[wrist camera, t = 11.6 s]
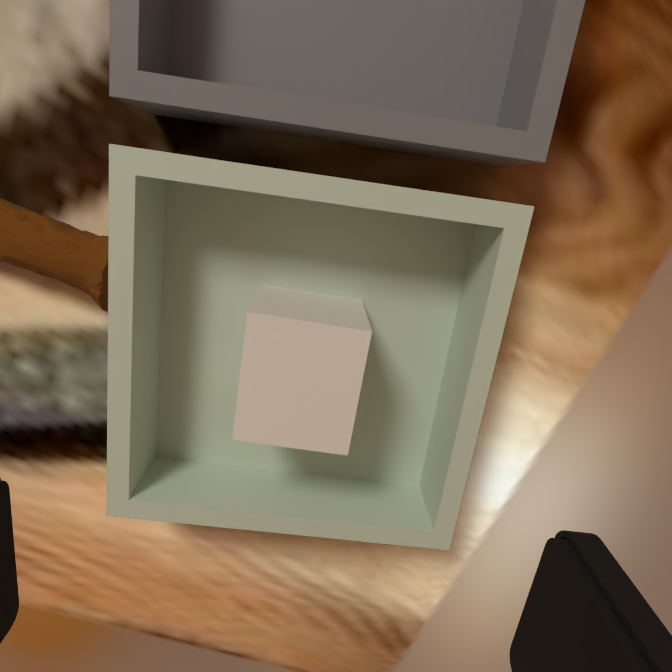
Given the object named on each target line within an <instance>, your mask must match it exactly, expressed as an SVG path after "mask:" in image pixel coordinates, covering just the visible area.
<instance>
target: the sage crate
mask: <svg viewBox="0 0 672 672" xmlns="http://www.w3.org/2000/svg"><path fill="white" fill-rule="evenodd" d="M533 210H534V206H529V205H522V204H515V203H508V202H502V201H495V200H488V199H481V198H474V197H468V196H461V195H454V194H447V193H440V192H433V191H427V190H420V189H413V188H406V187H399V186H393V185H386V184H379V183H372V182H365V181H359V180H352V179H345V178H338V177H331V176H325V175H318V174H311V173H304V172H297V171H291V170H284V169H277V168H270V167H263V166H257V165H250V164H243V163H236V162H229V161H223V160H216V159H209V158H202V157H195V156H189V155H182V154H175V153H168V152H161V151H154V150H148V149H141V148H134V147H127V146H120V145H114V144H109V245H108V402H107V516H113V517H123V518H133V519H143V520H153V521H163V522H173V523H183V524H192V525H202V526H212V527H222V528H232V529H242V530H252V531H262V532H272V533H281V534H291V535H301V536H311V537H321V538H331V539H341V540H351V541H360V542H370V543H380V544H390V545H400V546H410V547H420V548H430V549H440V550H450V546H451V542H452V538H453V534H454V530H455V526H456V522H457V518H458V514H459V510H460V506H461V502H462V498H463V493H464V489H465V485H466V481H467V477H468V473H469V469H470V465H471V461H472V457H473V453H474V449H475V445H476V441H477V437H478V433H479V429H480V425H481V421H482V417H483V413H484V409H485V405H486V401H487V396H488V392H489V388H490V384H491V380H492V376H493V372H494V368H495V364H496V360H497V356H498V352H499V348H500V344H501V340H502V336H503V332H504V328H505V324H506V320H507V316H508V312H509V308H510V303H511V299H512V295H513V291H514V287H515V283H516V279H517V275H518V271H519V267H520V263H521V259H522V255H523V251H524V247H525V243H526V239H527V235H528V231H529V227H530V223H531V219H532V215H533ZM264 284H265V285H271V286H277V287H284V288H290V289H296V290H302V291H309V292H315V293H321V294H328V295H334V296H340V297H346V298H353V299H359V300H362V302H363V305H364V308H365V311H366V314H367V317H368V320H369V324H370V327H371V330H372V334H371V339H370V345H369V350H368V355H367V360H366V365H365V370H364V375H363V380H362V385H361V390H360V396H359V401H358V406H357V411H356V416H355V421H354V426H353V431H352V436H351V441H350V447H349V452H348V456H347V455H339V454H332V453H325V452H317V451H310V450H303V449H295V448H288V447H281V446H273V445H266V444H259V443H251V442H244V441H237V440H232V437H233V429H234V420H235V412H236V404H237V395H238V387H239V378H240V370H241V362H242V353H243V345H244V336H245V328H246V319H247V312H248V310H249V309H250V307H251V305H252V304H253V302H254V300H255V299H256V297H257V295H258V294H259V292H260V291H261V289H262V287H263V286H264Z"/></svg>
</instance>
